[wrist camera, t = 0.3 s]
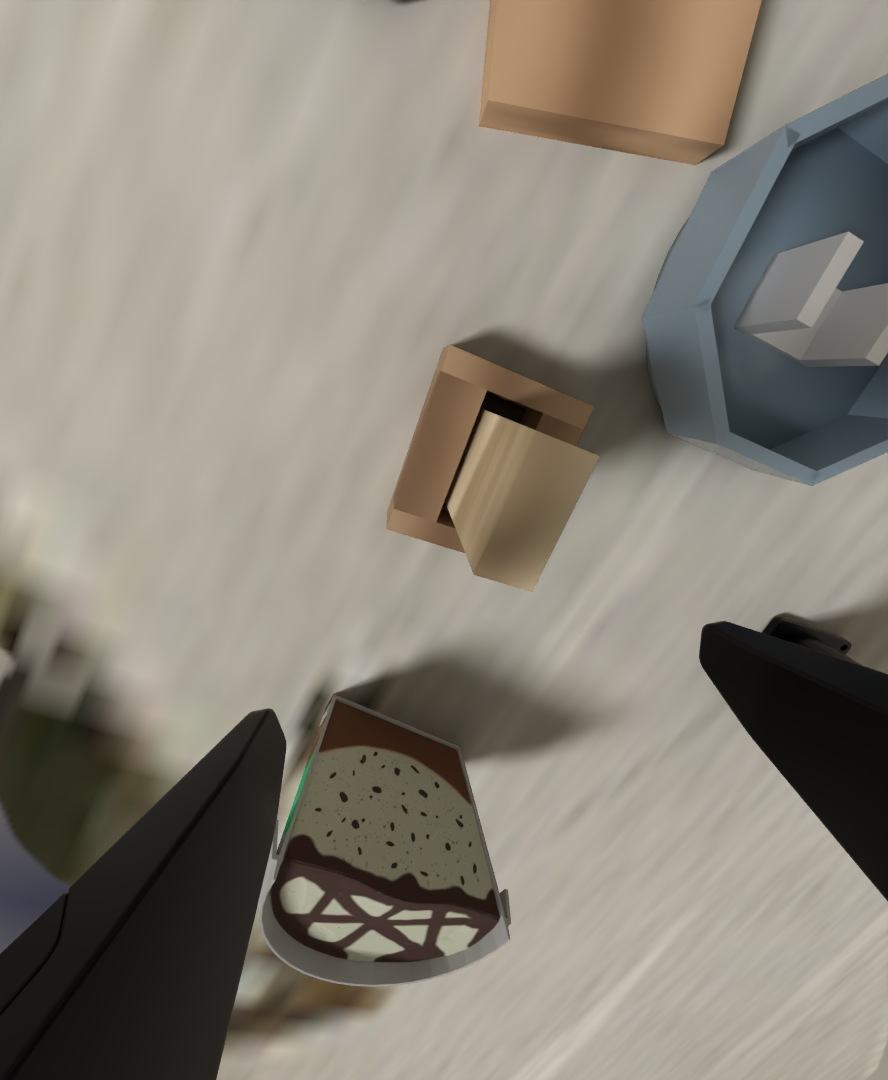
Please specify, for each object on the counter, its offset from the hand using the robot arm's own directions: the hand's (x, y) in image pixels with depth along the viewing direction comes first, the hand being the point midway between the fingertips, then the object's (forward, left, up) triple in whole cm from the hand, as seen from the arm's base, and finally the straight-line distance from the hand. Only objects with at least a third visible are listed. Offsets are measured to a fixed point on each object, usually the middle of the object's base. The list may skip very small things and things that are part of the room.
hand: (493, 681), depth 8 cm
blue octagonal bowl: (-12, -14, -13) cm, 23 cm away
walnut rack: (-1, -3, -13) cm, 14 cm away
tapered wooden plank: (0, -18, -14) cm, 22 cm away
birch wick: (-1, -3, -13) cm, 14 cm away
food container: (-2, +17, -14) cm, 22 cm away
